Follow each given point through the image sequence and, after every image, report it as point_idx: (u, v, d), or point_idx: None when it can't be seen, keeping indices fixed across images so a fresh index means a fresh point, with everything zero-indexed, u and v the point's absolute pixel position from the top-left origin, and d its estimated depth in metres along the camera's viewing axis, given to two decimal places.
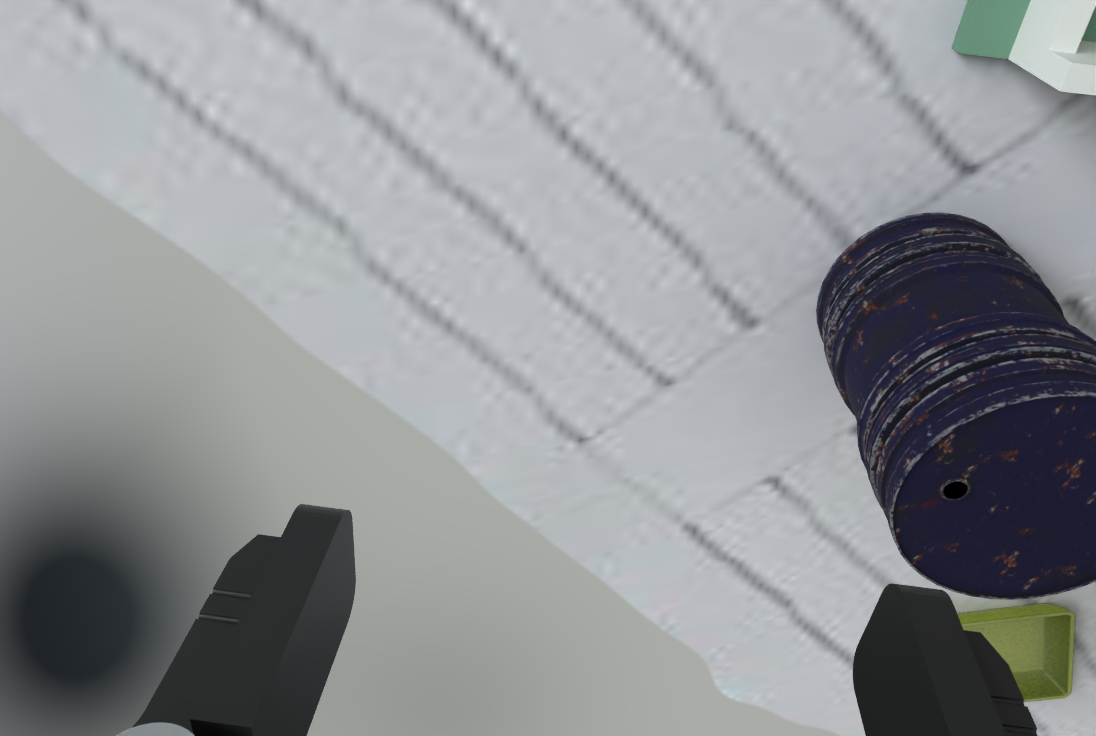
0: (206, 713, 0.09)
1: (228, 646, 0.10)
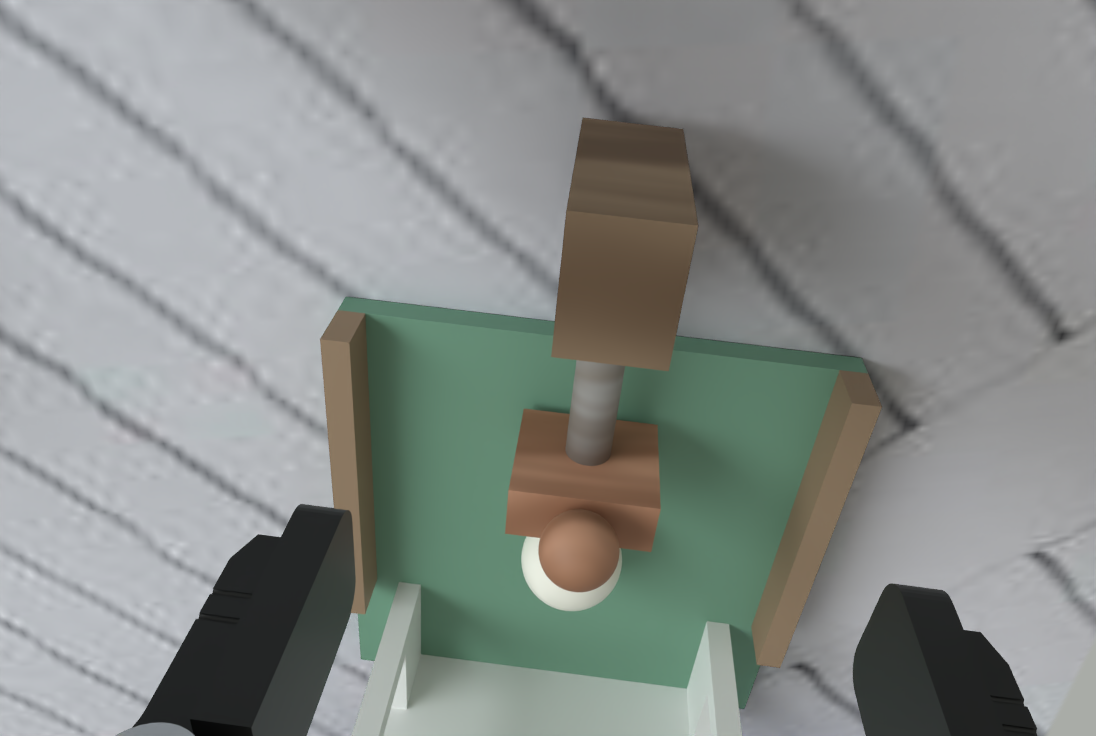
0: (206, 713, 0.09)
1: (228, 646, 0.10)
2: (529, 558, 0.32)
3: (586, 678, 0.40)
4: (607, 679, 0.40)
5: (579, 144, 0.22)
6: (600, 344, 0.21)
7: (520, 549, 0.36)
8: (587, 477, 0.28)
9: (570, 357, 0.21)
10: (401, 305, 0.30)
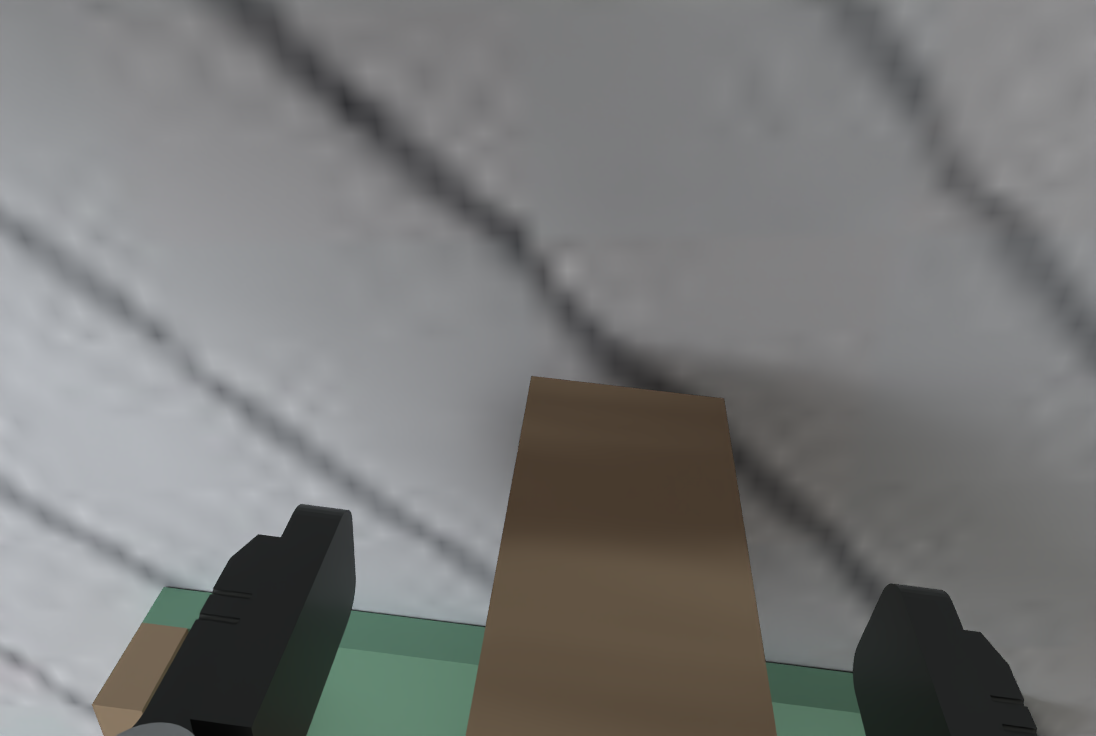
0: (206, 713, 0.09)
1: (228, 646, 0.10)
2: None
3: None
4: None
5: (515, 479, 0.11)
6: None
7: None
8: None
9: None
10: None
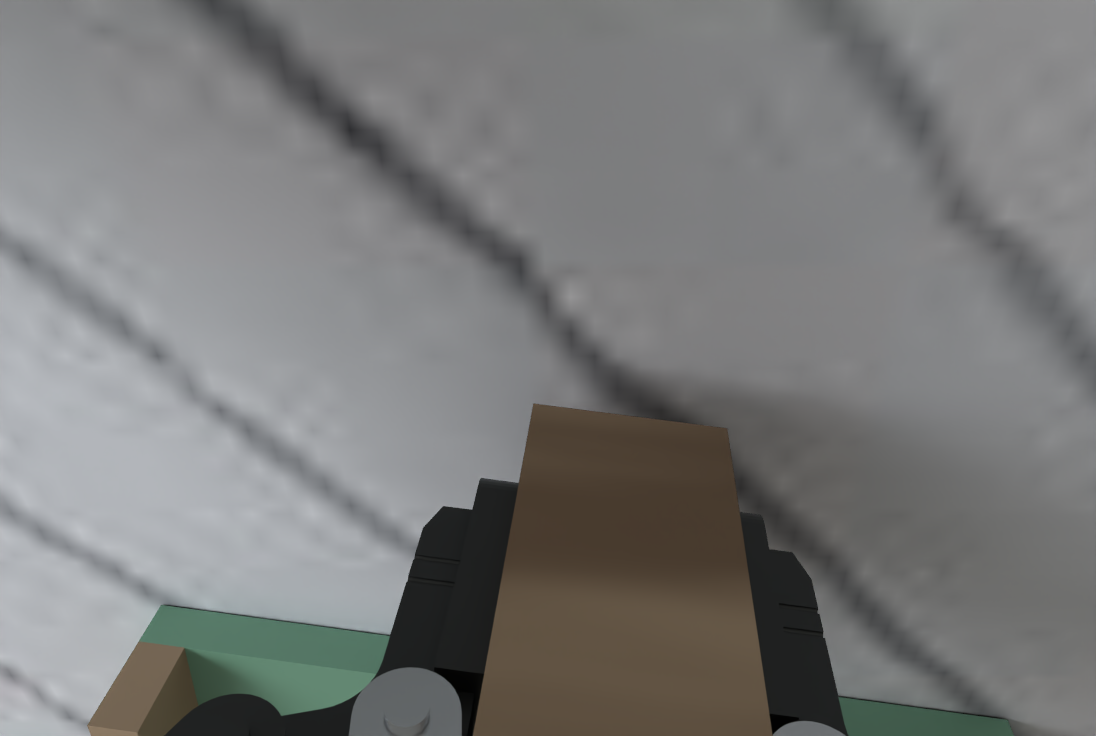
0: (447, 662, 0.10)
1: (451, 604, 0.11)
2: None
3: None
4: None
5: (516, 512, 0.11)
6: None
7: None
8: None
9: None
10: (250, 623, 0.18)
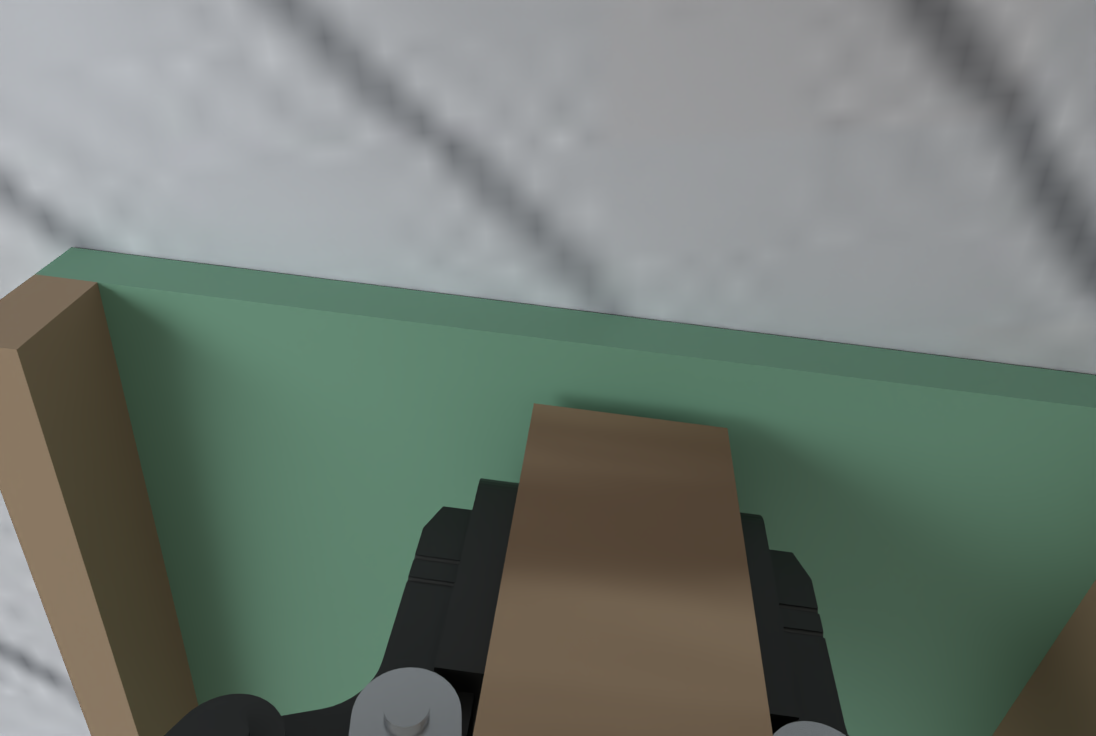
0: (447, 662, 0.10)
1: (451, 604, 0.11)
2: None
3: None
4: None
5: (517, 511, 0.11)
6: None
7: None
8: None
9: None
10: (191, 267, 0.14)
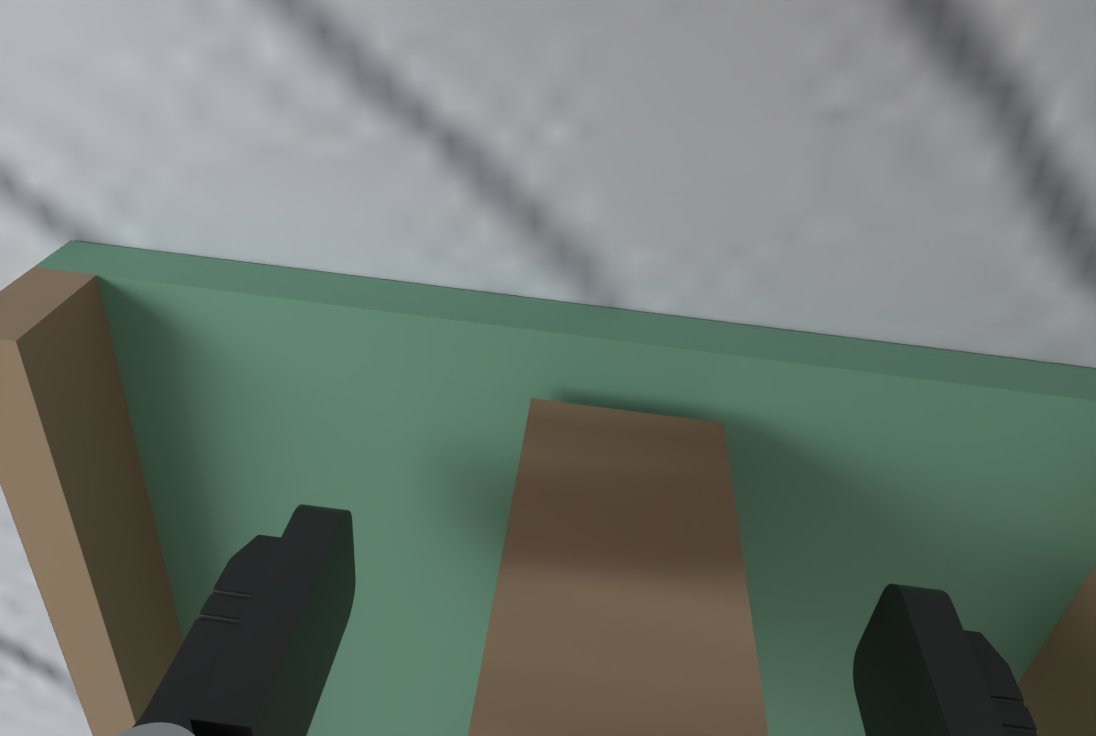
0: (206, 713, 0.09)
1: (228, 646, 0.10)
2: None
3: None
4: None
5: (514, 504, 0.11)
6: None
7: None
8: None
9: None
10: (190, 260, 0.14)
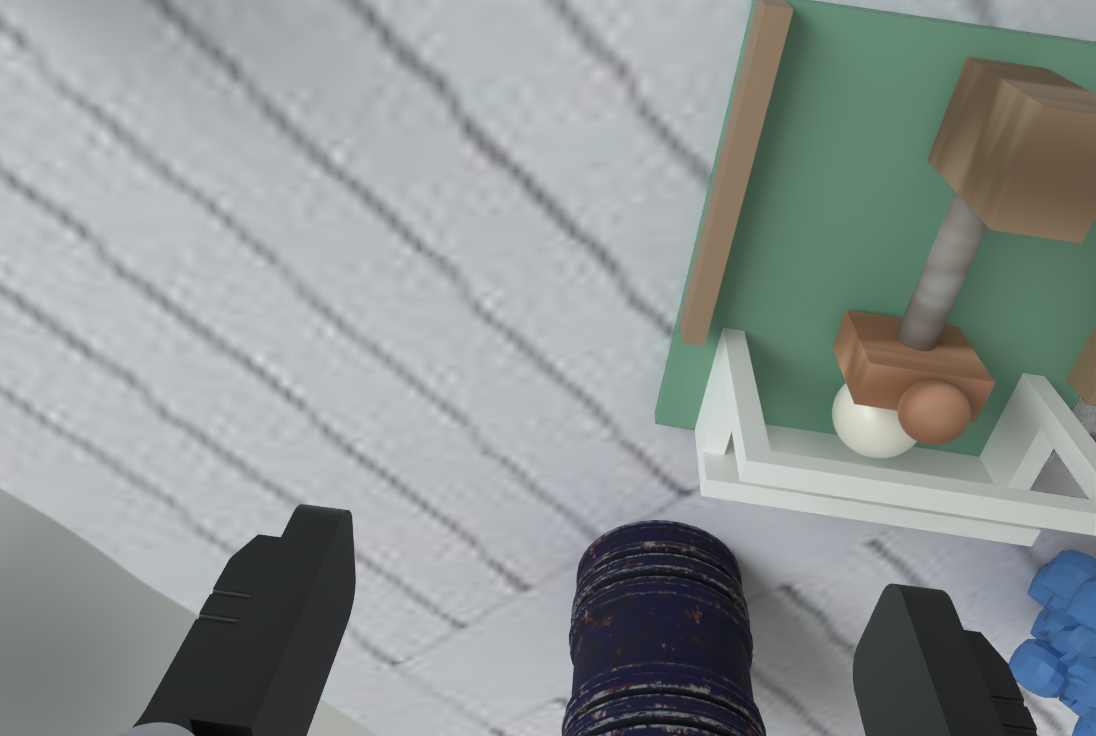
0: (206, 713, 0.09)
1: (228, 646, 0.10)
2: None
3: None
4: None
5: (991, 71, 0.29)
6: (1034, 219, 0.27)
7: (858, 286, 0.36)
8: (926, 358, 0.34)
9: (1005, 230, 0.27)
10: (810, 0, 0.31)
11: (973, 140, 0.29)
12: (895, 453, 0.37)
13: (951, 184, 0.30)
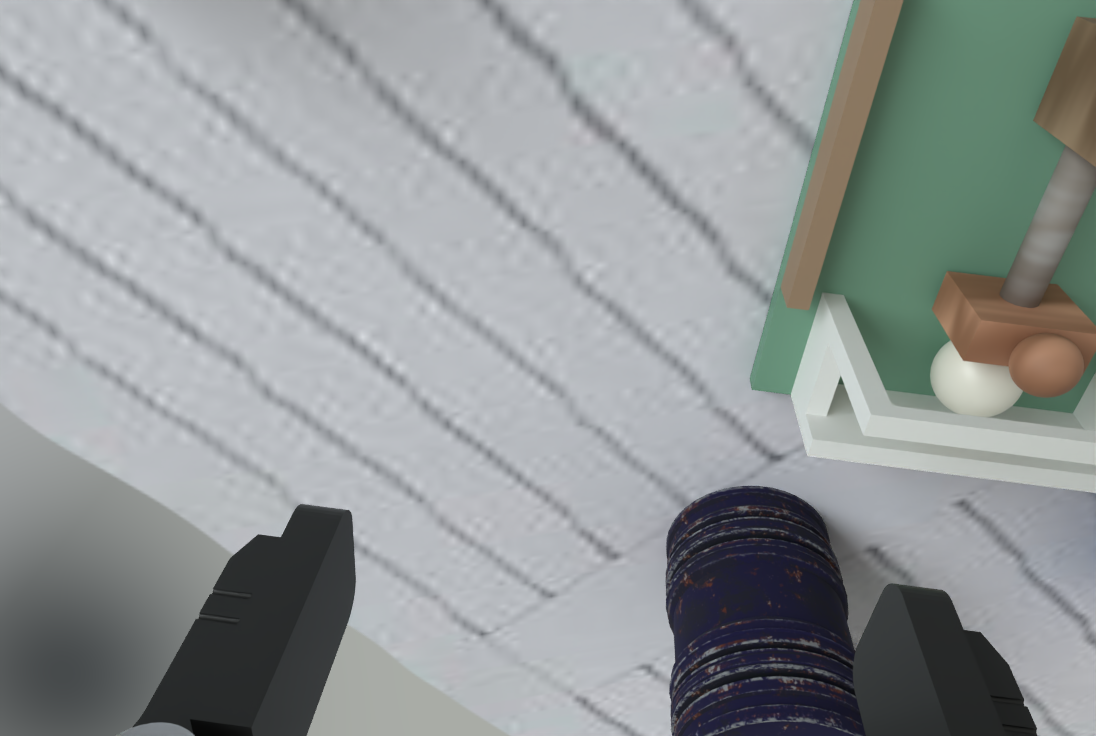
0: (206, 713, 0.09)
1: (228, 646, 0.10)
2: None
3: None
4: None
5: None
6: None
7: (958, 248, 0.37)
8: (1033, 314, 0.35)
9: None
10: None
11: (1089, 96, 0.30)
12: (995, 413, 0.38)
13: (1064, 141, 0.31)
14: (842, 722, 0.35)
